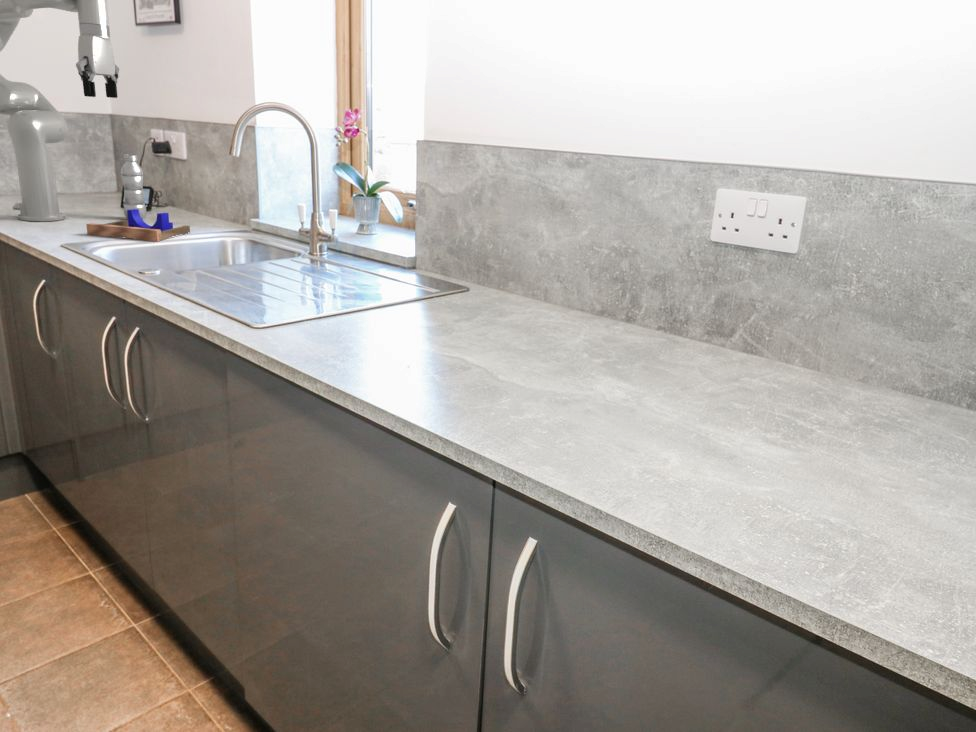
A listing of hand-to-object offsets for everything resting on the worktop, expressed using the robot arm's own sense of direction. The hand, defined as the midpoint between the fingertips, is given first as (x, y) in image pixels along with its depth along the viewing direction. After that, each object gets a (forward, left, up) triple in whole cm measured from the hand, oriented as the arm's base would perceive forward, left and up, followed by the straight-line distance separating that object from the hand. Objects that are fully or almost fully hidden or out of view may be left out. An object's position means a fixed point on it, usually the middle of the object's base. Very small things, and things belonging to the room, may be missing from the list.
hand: (101, 97), depth 213 cm
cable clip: (+14, -3, -37) cm, 40 cm away
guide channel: (+14, -8, -37) cm, 40 cm away
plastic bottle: (-2, +14, -37) cm, 40 cm away
